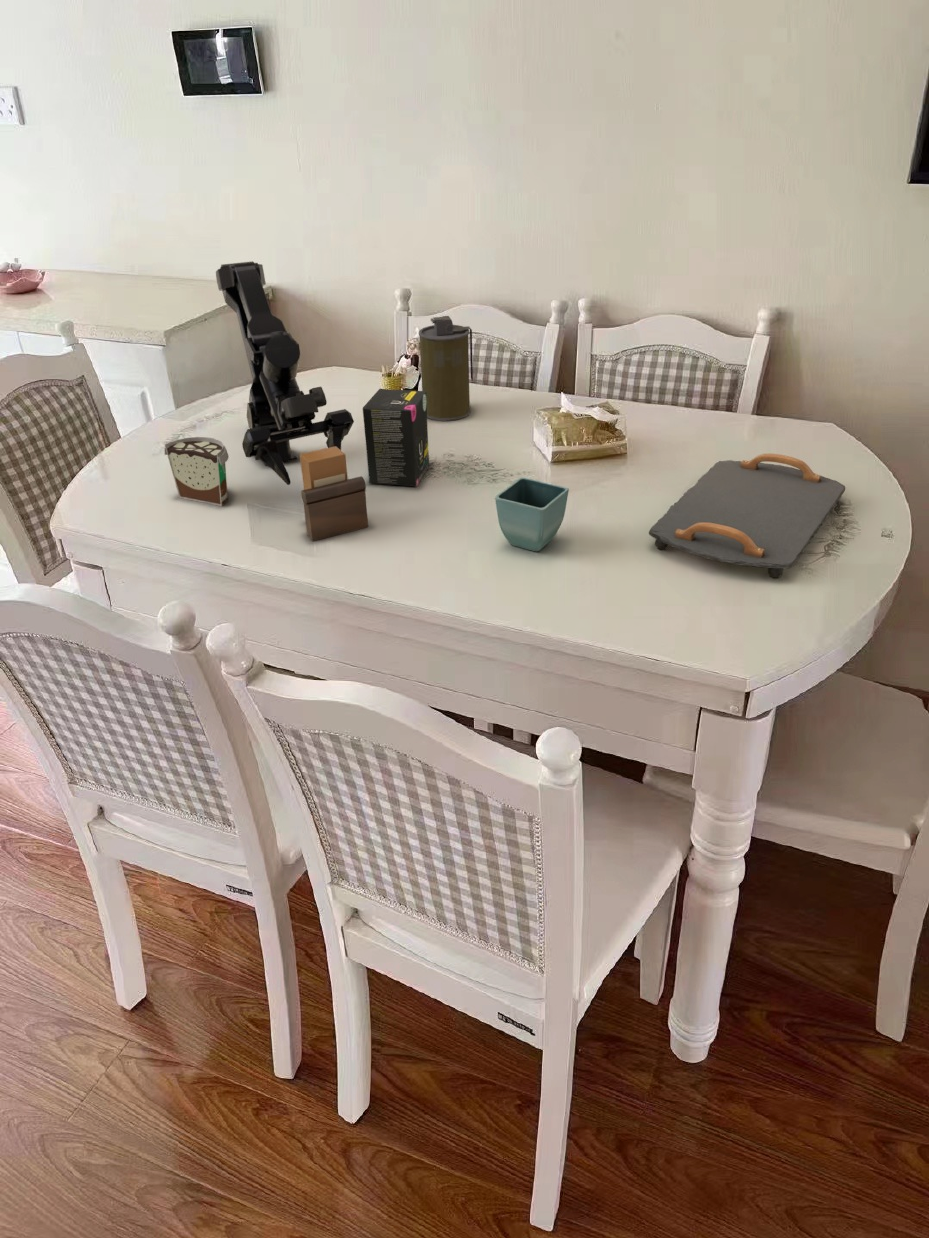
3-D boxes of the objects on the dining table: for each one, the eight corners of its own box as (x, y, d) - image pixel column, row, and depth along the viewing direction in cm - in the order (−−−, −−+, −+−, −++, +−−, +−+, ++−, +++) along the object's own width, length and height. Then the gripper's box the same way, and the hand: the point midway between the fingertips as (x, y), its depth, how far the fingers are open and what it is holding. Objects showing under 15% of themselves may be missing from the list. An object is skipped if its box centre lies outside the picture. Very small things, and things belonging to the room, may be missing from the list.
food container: (249, 493, 174) (241, 441, 169) (228, 507, 169) (219, 454, 164) (194, 483, 178) (184, 432, 173) (172, 496, 174) (162, 444, 168)
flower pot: (542, 561, 150) (543, 509, 145) (493, 548, 154) (493, 496, 149) (568, 538, 156) (570, 487, 152) (520, 526, 160) (521, 476, 156)
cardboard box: (308, 523, 163) (299, 454, 157) (342, 514, 166) (336, 446, 159) (316, 532, 160) (308, 462, 154) (352, 523, 163) (345, 454, 156)
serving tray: (783, 592, 140) (789, 554, 137) (635, 554, 151) (638, 519, 148) (849, 493, 168) (856, 460, 165) (721, 468, 179) (725, 436, 175)
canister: (426, 423, 202) (422, 327, 191) (418, 406, 210) (414, 313, 200) (477, 418, 203) (476, 322, 193) (467, 402, 212) (465, 309, 201)
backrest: (306, 536, 159) (300, 488, 155) (363, 521, 163) (359, 474, 159) (311, 541, 158) (305, 493, 153) (369, 526, 162) (365, 479, 157)
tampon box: (417, 488, 174) (412, 410, 166) (367, 484, 176) (361, 407, 168) (431, 464, 183) (427, 389, 176) (384, 461, 185) (378, 387, 177)
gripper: (237, 383, 155) (269, 470, 152) (344, 362, 162) (376, 446, 160) (229, 414, 165) (259, 497, 163) (331, 394, 172) (361, 473, 170)
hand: (314, 477), depth 163 cm, fingers open, 9 cm apart
